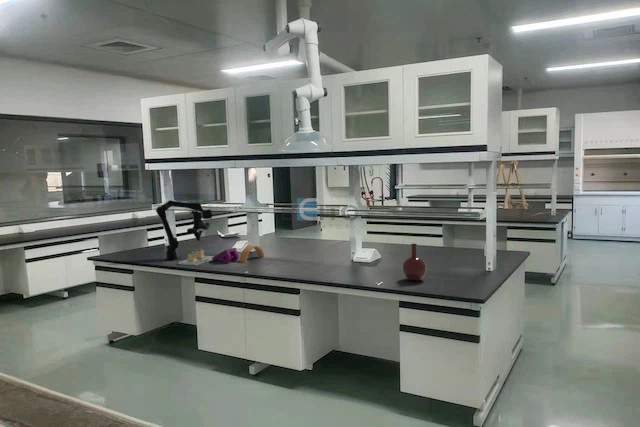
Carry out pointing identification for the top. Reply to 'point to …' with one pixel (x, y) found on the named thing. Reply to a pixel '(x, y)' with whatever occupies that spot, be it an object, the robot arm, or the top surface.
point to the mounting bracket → (227, 256)
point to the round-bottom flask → (414, 266)
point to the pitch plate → (197, 261)
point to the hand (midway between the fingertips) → (198, 240)
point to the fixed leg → (192, 256)
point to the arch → (247, 249)
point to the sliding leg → (200, 253)
